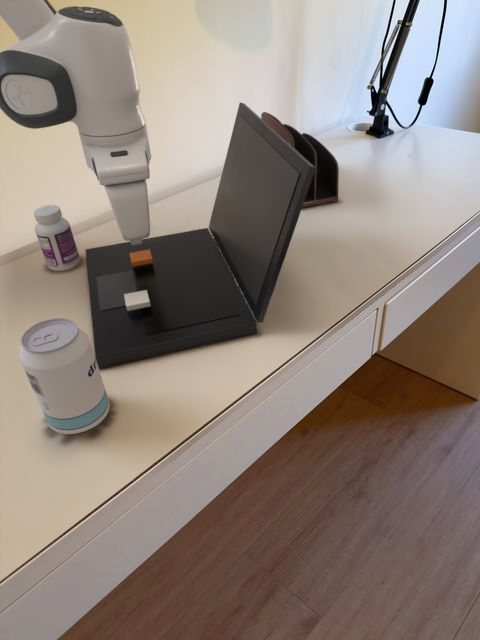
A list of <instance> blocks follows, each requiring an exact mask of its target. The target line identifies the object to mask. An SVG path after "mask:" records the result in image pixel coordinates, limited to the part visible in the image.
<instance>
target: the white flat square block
mask: <svg viewBox="0 0 480 640" xmlns="http://www.w3.org/2000/svg"><path fill="white" fill-rule="evenodd" d="M124 298H125V303H126V308H127V311H130V310H135V309H140V308H145V307H150V306H151V305H150V301H149V297H148V293H147V290H144V291H139V292H133V293H128V294H124Z"/></svg>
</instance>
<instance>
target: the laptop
mask: <svg viewBox="0 0 480 640" xmlns="http://www.w3.org/2000/svg"><path fill="white" fill-rule="evenodd" d="M149 249H150V252H151V256H152V259H153V263H150V264H144V265H139V266H134V267H133V266H132V262H131V258H130V254H129V253H132V252H138V251H143V250H149ZM85 259H86V271H87V281H88V282H87V283H88V292H89V302H90V314H91V324H92V335H93V346H94V356H95V359H96V362H97V365H98V368H99V370H101V369H104V368H105V369H106V368H109V367H113V366H119V365H124V364H127V363H132V362H138V361H142V360H145V359H151V358H154V357H159V356H164V355H168V354H174V353H177V352H183V351H187V350H191V349H196V348H200V347H205V346H209V345H214V344H218V343H222V342H226V341H227V342H228V341H233V340H237V339H241V338H245V337H249V336H254V335H257V334H258V327H257V326H258V325H257V323H258V322H257V320H256V318H255V316H254V315H253V313H252V311H251V309H250V307H249V305H248V303H247V301H246V299H245V297H244V295H243V293H242V291H241V289H240V288H239V286H238V284H237V282H236V280H235V278H234V276H233V274H232V272H231V270H230V268H229V266H228V264H227V263H226V261H225V259H224V257H223V255H222V253H221V251H220V249H219V247H218V245H217V243H216V241H215V239H214V237H213V236H212V234H211V232H210V230H209V228H208V227H205V228H200V229H193V230H188V231H183V232H176V233H171V234H165V235H160V236H159V235H158V236H153V237H148V238H144V239H142V243H141V244H138V245H131V243H130V241H125V242H120V243H113V244H107V245H101V246H96V247H91V248H86V249H85ZM144 290H147V293H148V297H149V301H150V305H151V306H150V307H145V308H140V309H135V310H130V311H127V308H126V303H125V298H124V294H128V293H133V292H139V291H144Z"/></svg>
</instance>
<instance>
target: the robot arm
mask: <svg viewBox="0 0 480 640" xmlns="http://www.w3.org/2000/svg"><path fill="white" fill-rule="evenodd" d="M0 17H1V19H2V20H3V21H4V22H5V24H6V25H7V26H8V27H9V29H10V30H11V31H12V32H13V34H14V35H15V36H16V37H17V38H18V40H19V41H18V42H15V43H14V44H11V45H9V46H7V47H5V48H4V49H2V50H1V51H0V110H1V112H3V114H5V115H6V116H7V117H8V118H9V119H10V120H12V121H13V122H14V123H16V124H17V125H19V126H22V127H24V128H27V129H34V130H35V129H46V128H50V127H54V126H59V125H62V124H65V123H73V124H75V125H76V127H77V130H78V135H79V139H80V143H81V147H82V151H83V156H84V159H85V163H86V166H87V167H88V168H89V169H90V170H91V171H92V172H93V174H94V175H95V176H96V178H97V181H98V183H99V184H98V185H100V186H103V188H104V190H105V192H106V195H107V198H108V201H109V204H110V207H111V210H112V213H113V216H114V219H115V221H116V224H117V227H118V229H119V232H120V235H121V238H122V239H123V240H124V241H125V242H130V243H131V245H138V244H141V243H142V239H147V238H150V234H151V216H150V206H149V194H148V192H149V191H148V183H147V180H148V179H149V180H150V178H151V175H150V173H151V172H150V167H149V166H150V162H151V160H152V153H151V146H150V140H149V135H148V128H147V122H146V117H145V116H144V113H143V111H142V109H141V103H140V93H141V85H140V79H139V74H138V70H137V64H136V61H135V55H134V51H133V48H132V44H131V41H130V40H131V39H130V37H129V34H128V31H127V29H126V26H125V25H124V23H123V21H122V20H121V19H120V18H119V17H117V15H115V14H113V13H112V12H110V11H108V10H105V9H101V8H97V7H90V6H78V5H76V6H75V5H74V6H66V7H63V8H60V9H59V10H57V9H55V7H54V6H53V5H52V4H51V2H50V1H49V0H0Z"/></svg>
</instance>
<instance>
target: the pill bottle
mask: <svg viewBox="0 0 480 640" xmlns="http://www.w3.org/2000/svg"><path fill="white" fill-rule="evenodd" d="M33 215H34V216H33V217H34V218H35V219H34V220H35V221H36V224H35V226H34V231H35V235H36V238H37V240H38V243H39V246H40V248H41V252H42V254H43V257H44V260H45V263H46V265H47V267H48V268H49V269H51V270H52V271H55V272H63V271H68V270H71V269H73V268H75V267H76V266H78V265H79V264H80V261H81V257H80V254H79V250H78V247H77V244H76V241H75V237H74V233H73V231H72V228H71V225H70V222H69V220H68V219H66V218H65V217H63V213H62V211H61V208H60V206H58V205H56V204H48V205H43V206H40V207H38V208H36V209H35V210H34V211H33Z"/></svg>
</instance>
